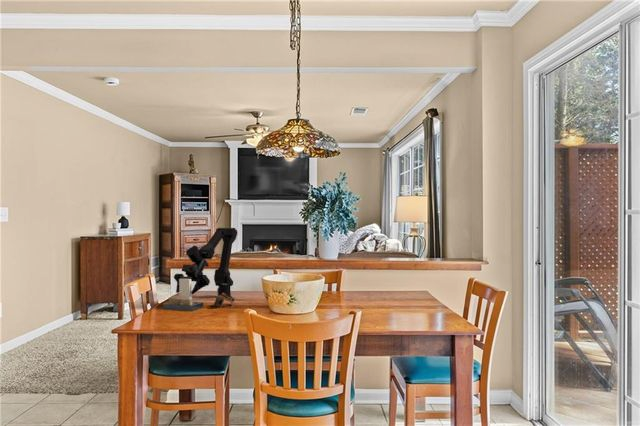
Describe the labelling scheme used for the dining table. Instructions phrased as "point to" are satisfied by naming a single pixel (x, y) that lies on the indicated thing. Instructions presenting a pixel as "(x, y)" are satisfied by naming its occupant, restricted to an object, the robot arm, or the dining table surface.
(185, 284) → the white upright block
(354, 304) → the dining table surface
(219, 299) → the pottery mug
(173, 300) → the offcut
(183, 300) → the offcut
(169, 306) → the plate
